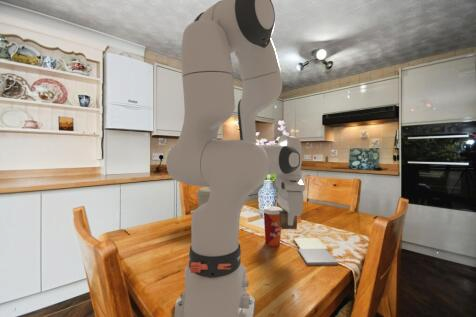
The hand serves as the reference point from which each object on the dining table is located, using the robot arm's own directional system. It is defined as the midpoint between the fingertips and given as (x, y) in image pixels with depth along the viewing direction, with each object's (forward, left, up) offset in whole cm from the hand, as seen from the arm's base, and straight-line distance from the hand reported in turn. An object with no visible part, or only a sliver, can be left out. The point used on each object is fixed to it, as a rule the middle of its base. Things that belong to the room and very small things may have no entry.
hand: (287, 222), depth 79 cm
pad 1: (+8, -11, -12) cm, 17 cm away
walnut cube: (0, 0, -2) cm, 2 cm away
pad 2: (-2, -10, -12) cm, 15 cm away
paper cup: (+10, +3, -12) cm, 16 cm away
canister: (+35, +28, -12) cm, 46 cm away
